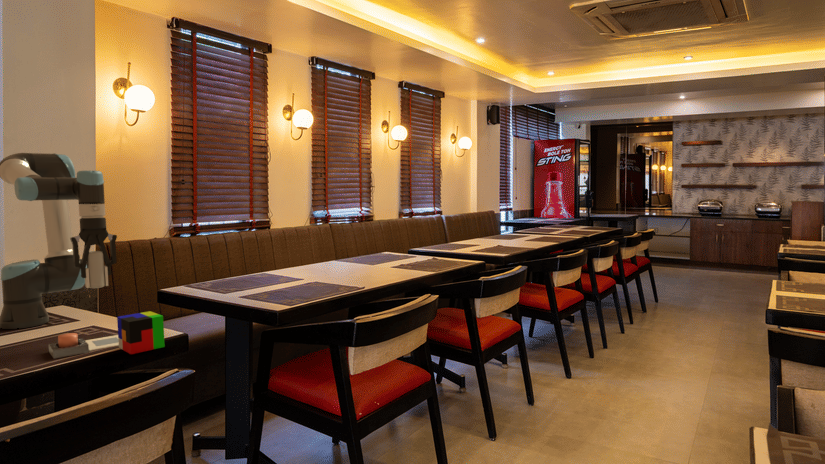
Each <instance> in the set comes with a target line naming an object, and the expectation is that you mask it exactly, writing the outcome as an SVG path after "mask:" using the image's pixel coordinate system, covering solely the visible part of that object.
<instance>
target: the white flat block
mask: <svg viewBox="0 0 825 464" xmlns="http://www.w3.org/2000/svg"><path fill="white" fill-rule="evenodd" d="M84 340H85V339H84ZM85 341H86V342H87V343H88V346H89V352H91V351H97V350H101V349H102V350H104V349H107V348H113V347H114V348H115V347H119V341H118V334H116V335H115V334H114V335H109V336H103V337H98V338H93V339H86V340H85Z"/></svg>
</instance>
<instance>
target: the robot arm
mask: <svg viewBox="0 0 825 464" xmlns="http://www.w3.org/2000/svg"><path fill="white" fill-rule="evenodd" d="M0 179H2V180H3V181H4V182H5V183H7V184H9V185H13V186H14V187H13V188H14V194H15V197H16V199H17V200H19V201H29V202H32V201H42V211H43V219H44V220H43V221H44V228H45V234H46V243H47V254H46V255H45V256H44V258H43V259H44V260H43V261H44V262H40V260H39V259H26V260H20V261H16V262H12V263H8V264H5V265H4V266H2V268H1V270H0V271H1V272H0V281H1V289H2V290H1V293H2V308H1V309H2V310H1V312H0V329H1V328H2V330H3V329H4V330H17V328H19V329H25V328H32V327H36V326H41V325H44V324H46V323H49V322H50V317H49V313H48V310H47V309H46V307H45V304H44V302H43V295H42V294H50V293H52V294H53V293H59V292H67V291H69V292H70V291H72V290H74V291H75V290H79V289H82V288H83V287H84V286H85V288H86V289H89V288H90V282H89V268H87V260H88V255H89V252H90V250H91V247H92V246H94V245H96V246H98V248H99V251H101V252H102V253H103V257H104V273H105V286H104V287H109V276H111V275H112V268H111V267H112V266H113V265H115V264H117V261H118V259H117V246H116V242H117V238H118V235H117V234H111V233H109V232H108V230H107V218H106V217H105V216H106V203H105V202H106V200H105V185H104V184H105V180H104V175H103V172H102V171H100V170H79V171H77V172H76V169H75V166H74V163H73V161H72V159H71V157H70V156H68V155H66V154H58V153H41V152H40V153H37V152H33V153H32V152H29V153H28V152H16V153H12V154H10V155H8V156H5V157H4V158H3V159H2V160H0ZM71 200H75V201H76V200H77V201H78V215H79V217H80V218H79V233H78V235H76V236H74V234H73V227H72V226H73V225H72V219H71V212H70V202H69V201H71ZM107 238H108V240H109V249H110V257H109V255H108V251H107V249H106V246H105V240H106V239H107ZM80 239H81V240H82V242H84V245H83V247H84V248H83V252H82V255H80V252H79V250H80V248H79V242H80ZM90 289H91V288H90Z"/></svg>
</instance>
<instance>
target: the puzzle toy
mask: <svg viewBox="0 0 825 464" xmlns="http://www.w3.org/2000/svg"><path fill="white" fill-rule="evenodd" d="M116 321H117V322H116V323H117V335H118V341H119V346H118V348H119V349H121V350H123V351H124V352H126V353H127V354H129V355H136V354H139V353H143V352H149V351H152V350H156V349H157V350H158V349H161V348H165V347H166V345H165V331H164V330H165V327H164V326H165V325H164V316H163V315H162V314H159V313H156V312H154V311H150V310H149V311H144V312H137V313H132V314H126V315H120V316H117V317H116Z"/></svg>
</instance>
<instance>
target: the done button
mask: <svg viewBox="0 0 825 464" xmlns="http://www.w3.org/2000/svg"><path fill="white" fill-rule="evenodd" d="M78 337H79V335H78V333H77V332H70V333H69V332H67V333H62V334H60V335H58V336H57V343H58V344H59V348H63V347H69V346H75V345H78V339H79V338H78Z"/></svg>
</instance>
